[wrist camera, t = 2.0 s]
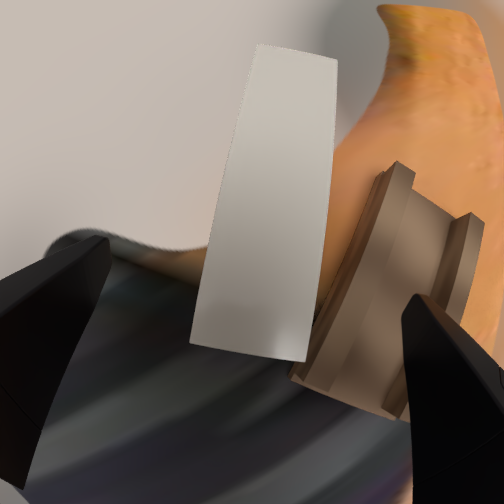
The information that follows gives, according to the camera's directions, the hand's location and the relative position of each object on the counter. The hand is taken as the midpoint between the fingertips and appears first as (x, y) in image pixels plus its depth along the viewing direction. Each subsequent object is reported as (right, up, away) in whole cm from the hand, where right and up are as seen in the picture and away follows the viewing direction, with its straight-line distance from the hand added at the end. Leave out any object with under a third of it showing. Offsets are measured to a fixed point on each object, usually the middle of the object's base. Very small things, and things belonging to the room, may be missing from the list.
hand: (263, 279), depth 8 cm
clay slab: (0, +2, +11) cm, 12 cm away
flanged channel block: (+9, -2, +11) cm, 14 cm away
